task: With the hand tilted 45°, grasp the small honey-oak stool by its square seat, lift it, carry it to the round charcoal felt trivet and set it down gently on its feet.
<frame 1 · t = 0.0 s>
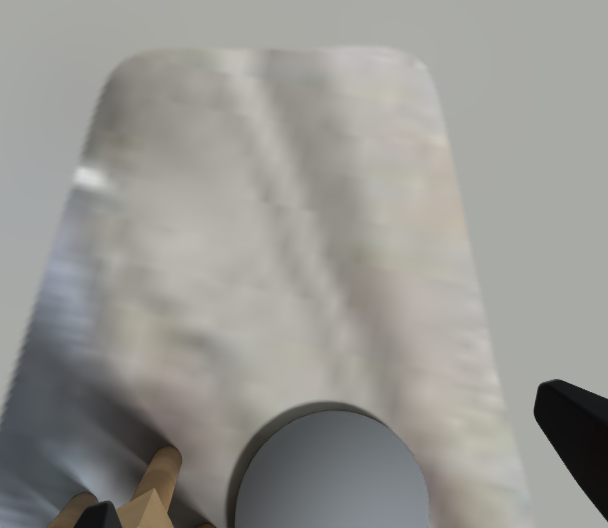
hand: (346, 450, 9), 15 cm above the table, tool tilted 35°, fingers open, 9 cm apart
stool: (145, 524, 22), on the table
trivet: (333, 510, 23), on the table
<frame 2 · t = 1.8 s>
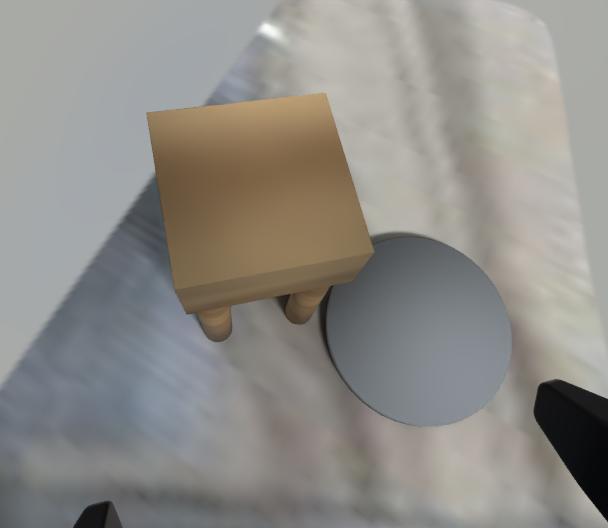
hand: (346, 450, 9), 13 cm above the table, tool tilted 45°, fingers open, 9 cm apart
stool: (250, 281, 24), on the table
trivet: (417, 327, 24), on the table
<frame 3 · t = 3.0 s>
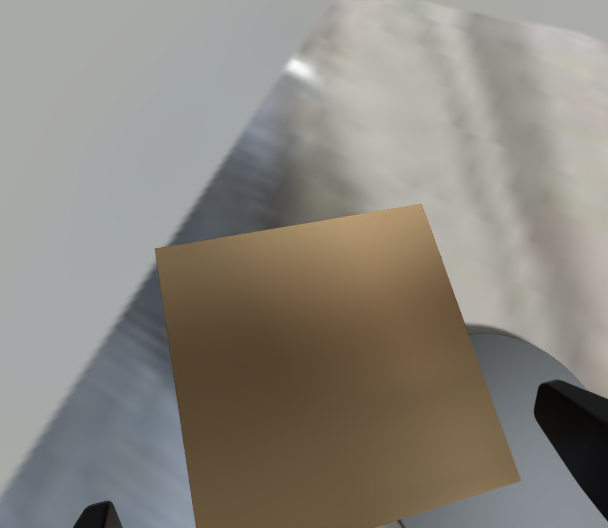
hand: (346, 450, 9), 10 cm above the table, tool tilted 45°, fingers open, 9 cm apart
stool: (284, 398, 19), on the table
trivet: (496, 454, 19), on the table
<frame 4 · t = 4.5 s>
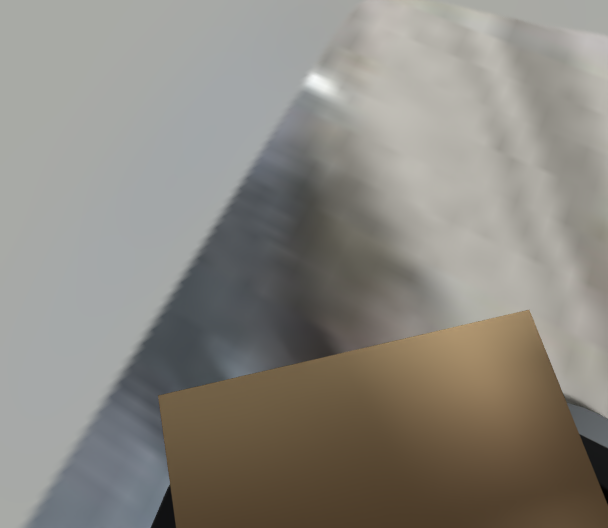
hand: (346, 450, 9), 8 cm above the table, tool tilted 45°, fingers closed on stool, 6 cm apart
stool: (309, 482, 16), on the table, touching gripper
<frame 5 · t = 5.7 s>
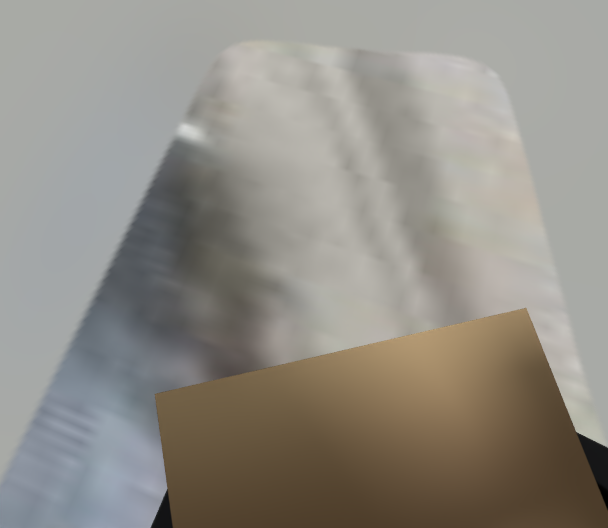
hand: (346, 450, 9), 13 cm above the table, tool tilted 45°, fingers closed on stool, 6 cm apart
stool: (308, 481, 16), point 5 cm above the table, touching gripper
when the fingers open (9 cm above the table, at t = 7.4 s): stool stays where it is, resting on trivet.
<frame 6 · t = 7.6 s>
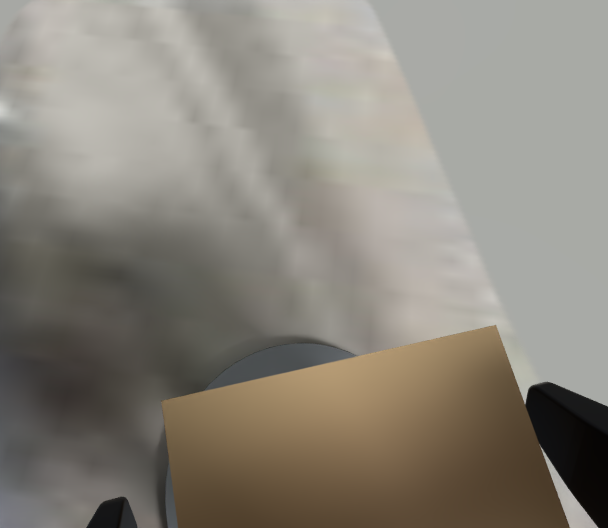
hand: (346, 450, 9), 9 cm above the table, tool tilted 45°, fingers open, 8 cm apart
stool: (303, 479, 17), point 1 cm above the table, touching trivet
trivet: (303, 477, 17), on the table
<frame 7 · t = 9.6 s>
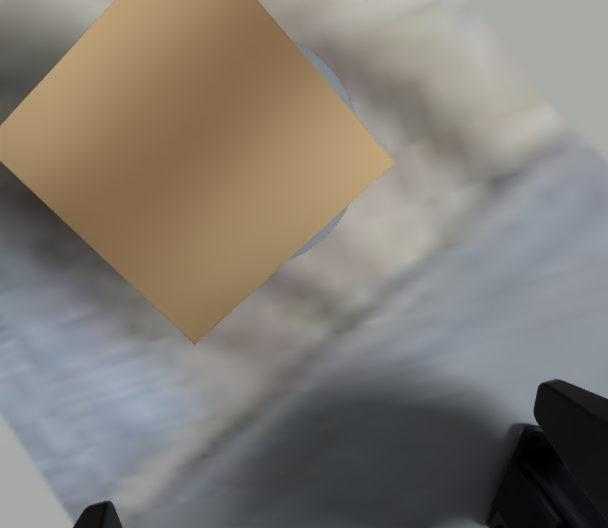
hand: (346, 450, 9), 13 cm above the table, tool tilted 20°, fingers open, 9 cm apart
stool: (244, 155, 20), point 1 cm above the table, touching trivet
trivet: (247, 154, 20), on the table
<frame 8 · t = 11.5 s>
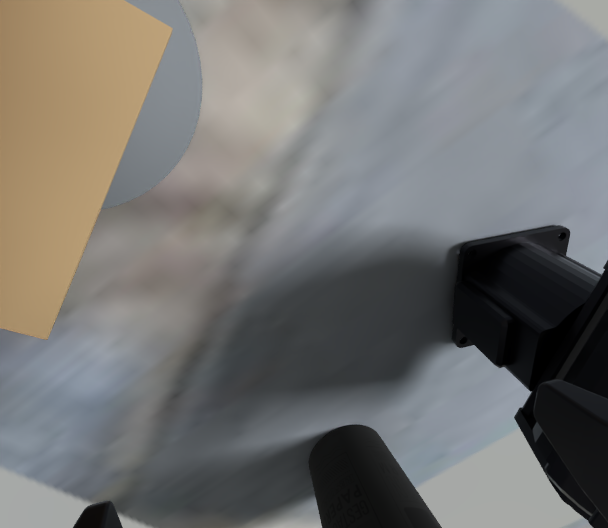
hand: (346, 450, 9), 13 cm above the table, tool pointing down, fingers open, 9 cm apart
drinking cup: (344, 451, 29), on the table
stool: (53, 76, 16), point 1 cm above the table, touching trivet
trivet: (57, 73, 16), on the table
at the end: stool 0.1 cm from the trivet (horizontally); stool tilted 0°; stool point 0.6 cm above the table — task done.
